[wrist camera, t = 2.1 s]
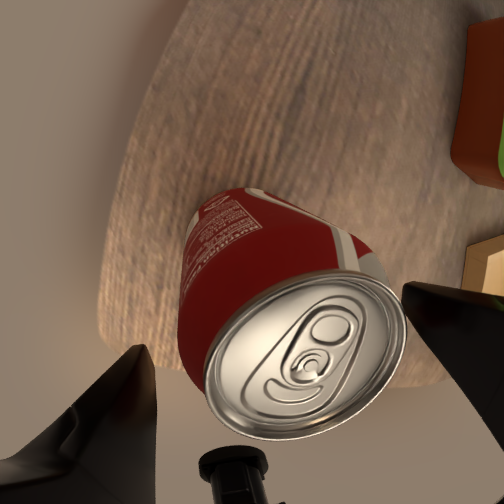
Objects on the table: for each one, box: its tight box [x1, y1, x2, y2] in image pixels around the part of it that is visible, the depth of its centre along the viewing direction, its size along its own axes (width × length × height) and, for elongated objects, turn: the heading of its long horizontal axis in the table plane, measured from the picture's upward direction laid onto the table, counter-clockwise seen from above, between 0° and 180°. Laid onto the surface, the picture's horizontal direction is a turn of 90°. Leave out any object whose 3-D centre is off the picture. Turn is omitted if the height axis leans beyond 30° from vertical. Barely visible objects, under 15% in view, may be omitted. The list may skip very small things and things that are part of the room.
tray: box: [461, 234, 504, 296], centre depth 24 cm, size 14×13×3 cm
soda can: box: [177, 188, 407, 441], centre depth 12 cm, size 7×7×12 cm
